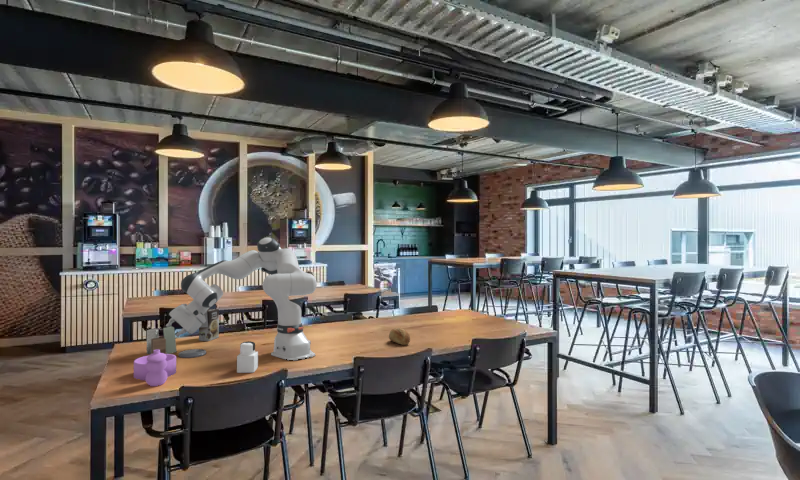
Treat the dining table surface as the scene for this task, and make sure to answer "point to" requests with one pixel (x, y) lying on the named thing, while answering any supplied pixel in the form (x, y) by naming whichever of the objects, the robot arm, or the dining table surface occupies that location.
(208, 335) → the coffee box
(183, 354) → the disc
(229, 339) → the dining table surface
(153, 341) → the walnut block
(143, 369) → the container set
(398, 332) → the bread roll
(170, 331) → the sage block
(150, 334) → the pewter tin
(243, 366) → the medicine bottle
